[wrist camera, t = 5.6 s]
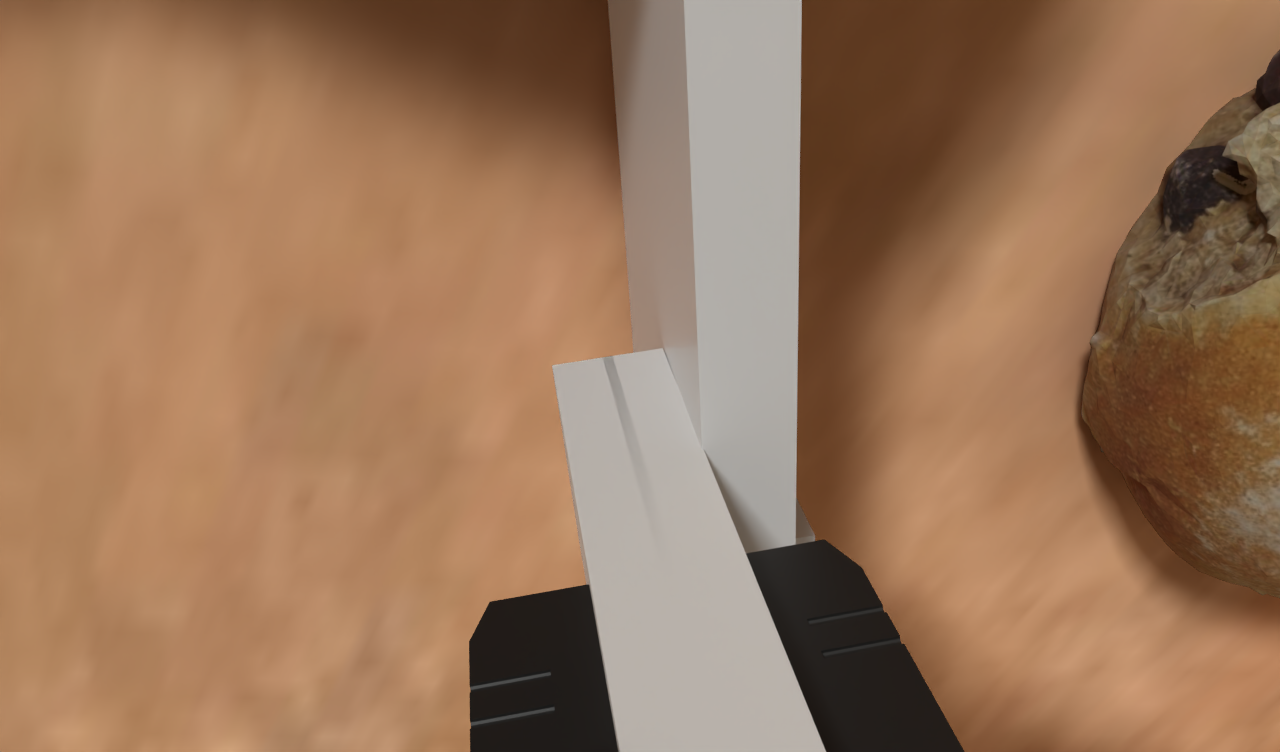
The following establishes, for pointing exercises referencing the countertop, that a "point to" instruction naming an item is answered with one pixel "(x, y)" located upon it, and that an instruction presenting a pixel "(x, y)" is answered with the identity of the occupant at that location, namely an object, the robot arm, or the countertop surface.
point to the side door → (718, 232)
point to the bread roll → (1202, 348)
